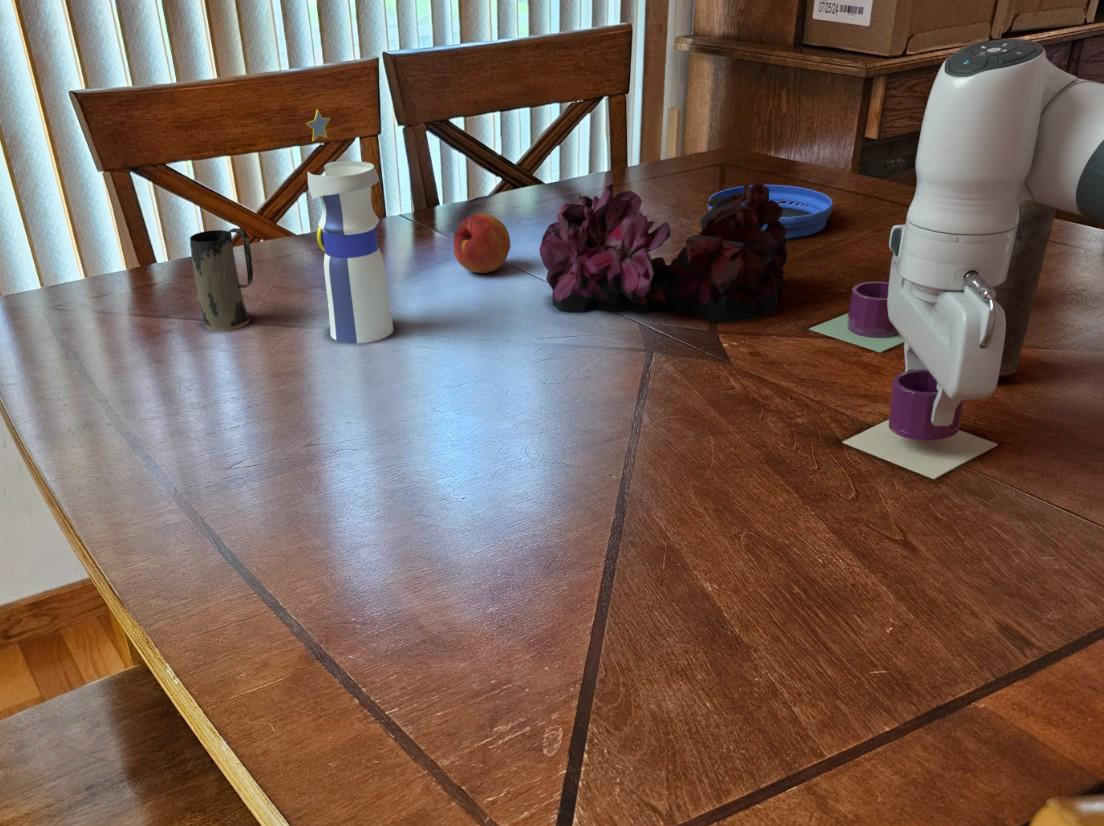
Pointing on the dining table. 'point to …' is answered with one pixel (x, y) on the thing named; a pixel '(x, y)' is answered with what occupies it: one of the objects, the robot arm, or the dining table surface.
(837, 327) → the pad far
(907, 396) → the dish
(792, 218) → the bowl
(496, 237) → the fruit
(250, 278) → the mug
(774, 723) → the dining table surface
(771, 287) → the flower arrangement
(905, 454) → the pad near
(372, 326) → the water bottle
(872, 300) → the dish
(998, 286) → the grey stone cylinder
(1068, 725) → the dining table surface
